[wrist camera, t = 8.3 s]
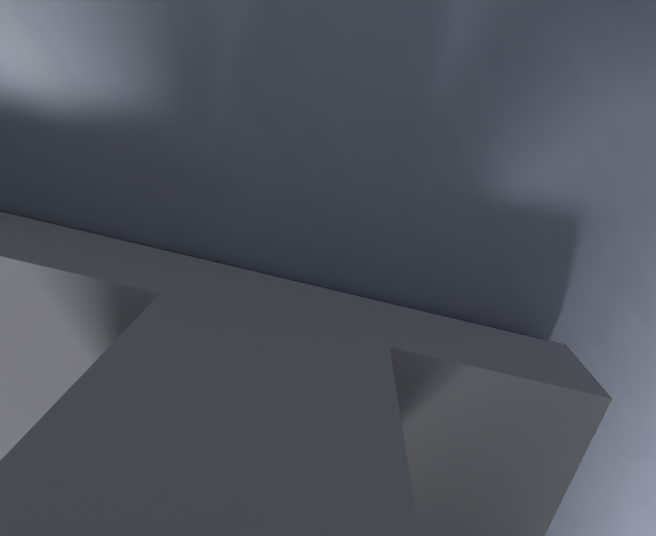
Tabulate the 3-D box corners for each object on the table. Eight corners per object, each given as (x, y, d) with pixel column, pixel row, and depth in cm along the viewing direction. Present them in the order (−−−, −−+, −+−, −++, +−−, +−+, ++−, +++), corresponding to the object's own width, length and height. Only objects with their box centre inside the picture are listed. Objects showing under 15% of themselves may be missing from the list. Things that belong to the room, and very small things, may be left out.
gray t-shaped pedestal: (565, 344, 11) (914, 750, 4) (487, 523, 12) (645, 1019, 6) (-198, 164, 10) (-1230, 296, 4) (-175, 376, 12) (-852, 740, 5)
